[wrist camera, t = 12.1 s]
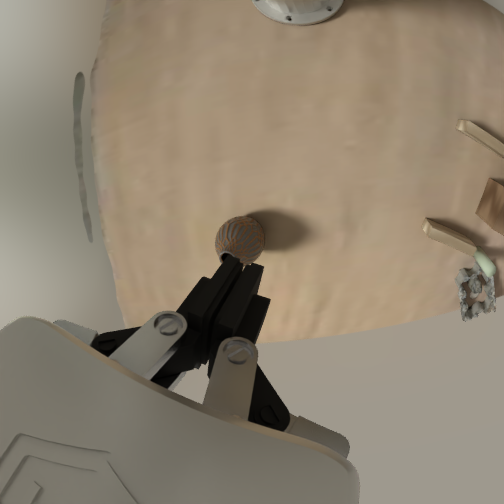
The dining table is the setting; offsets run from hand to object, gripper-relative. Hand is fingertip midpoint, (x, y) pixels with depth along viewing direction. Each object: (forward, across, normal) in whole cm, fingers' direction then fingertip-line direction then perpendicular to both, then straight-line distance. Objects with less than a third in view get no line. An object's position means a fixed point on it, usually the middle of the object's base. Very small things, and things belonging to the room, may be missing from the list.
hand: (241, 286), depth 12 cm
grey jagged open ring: (+28, -35, +9) cm, 45 cm away
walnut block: (+27, -30, -6) cm, 41 cm away
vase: (+27, +6, +12) cm, 30 cm away
